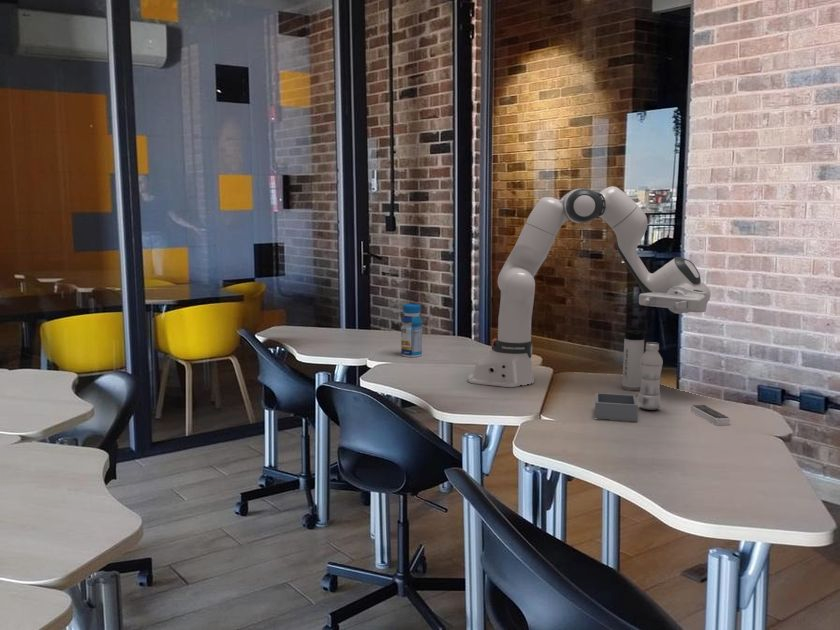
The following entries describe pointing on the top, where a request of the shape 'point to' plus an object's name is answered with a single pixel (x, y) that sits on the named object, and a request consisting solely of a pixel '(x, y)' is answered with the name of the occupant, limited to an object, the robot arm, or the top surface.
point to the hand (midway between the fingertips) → (660, 304)
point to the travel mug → (632, 358)
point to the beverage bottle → (411, 331)
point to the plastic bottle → (650, 377)
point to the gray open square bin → (616, 406)
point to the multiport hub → (710, 415)
